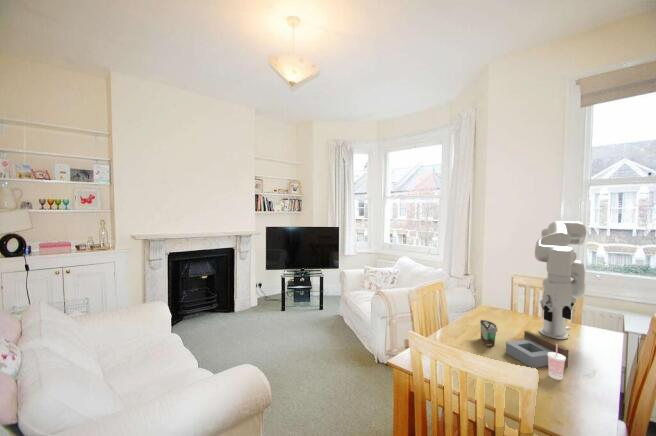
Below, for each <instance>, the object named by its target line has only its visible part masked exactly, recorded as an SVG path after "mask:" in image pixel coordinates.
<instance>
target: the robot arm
mask: <svg viewBox="0 0 656 436" xmlns="http://www.w3.org/2000/svg"><path fill="white" fill-rule="evenodd" d="M540 236H541V237H540V238H539V239H538V240H537V241H536V243H535V247H534V257H535V260H536V261H538V262H541V263H546V272H547V276H546V277H545V278H544V279H543V280H542V291H543V295H542V297H543V298H542V299H541V300H540V301H539V303H540V307H541V308H542V311H543V320H542V322H543V323H542V327H541V328H540V327H539V333H540V334H542V335H543V336H545V337H549V338H551V339H557V340H566V339H567V340H568V338H569V334H568V333H567V331H571V330H572V328H571V327H570V326H566V320H572V311H573V308H574V305H575V302H576V299H581V298H583V297H584V295H585V277H586V274H585V273H586V268H585V264H584V263H583V262H582V261H581V260H578V259H577V251H575V249H574V248H572V247H570V246H577V247H580V246H582V245H583V244H584V243H585V239H586V238H587V227H586V225H585V224H584V223H583V222H580V221H566V220H564V221H563V220H562V221H561V220H560V221H559V220H557V221H553V222H551V223H549V225H548V227H547V228H544V229H542V230H541V235H540Z"/></svg>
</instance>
